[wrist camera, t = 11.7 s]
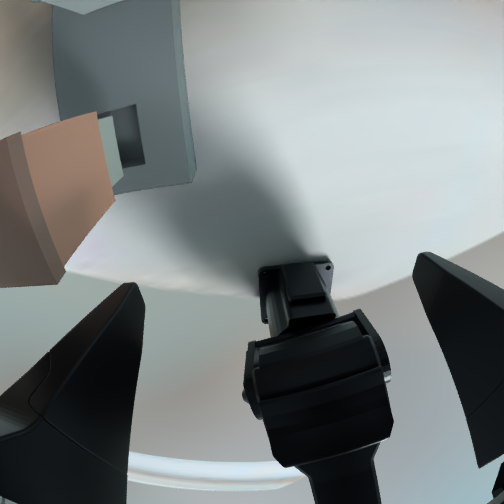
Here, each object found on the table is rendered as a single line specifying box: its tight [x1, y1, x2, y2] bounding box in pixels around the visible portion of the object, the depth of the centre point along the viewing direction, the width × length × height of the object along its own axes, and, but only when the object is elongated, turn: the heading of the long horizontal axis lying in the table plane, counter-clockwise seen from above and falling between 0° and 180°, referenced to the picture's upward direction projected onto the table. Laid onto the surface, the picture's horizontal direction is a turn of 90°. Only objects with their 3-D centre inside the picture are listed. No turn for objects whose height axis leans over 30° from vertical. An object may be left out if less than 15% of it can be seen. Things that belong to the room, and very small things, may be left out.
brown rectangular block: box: [0, 111, 124, 288], centre depth 9 cm, size 4×3×8 cm
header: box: [52, 0, 196, 195], centre depth 13 cm, size 18×8×3 cm, turn 4°
